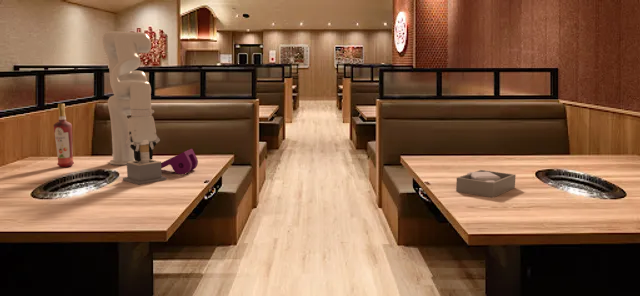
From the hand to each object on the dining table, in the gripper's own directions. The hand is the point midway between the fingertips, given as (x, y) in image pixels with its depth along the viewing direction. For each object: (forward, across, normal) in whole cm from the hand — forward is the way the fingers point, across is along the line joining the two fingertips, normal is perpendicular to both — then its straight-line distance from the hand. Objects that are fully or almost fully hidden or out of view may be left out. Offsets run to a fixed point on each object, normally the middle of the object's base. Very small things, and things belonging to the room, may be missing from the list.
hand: (143, 159), depth 202 cm
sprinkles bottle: (+6, 0, 0) cm, 6 cm away
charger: (+7, -75, +107) cm, 131 cm away
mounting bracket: (+9, -17, -6) cm, 20 cm away
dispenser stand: (+8, -75, +107) cm, 131 cm away
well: (+8, 0, 0) cm, 8 cm away
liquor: (+9, +9, -52) cm, 53 cm away
